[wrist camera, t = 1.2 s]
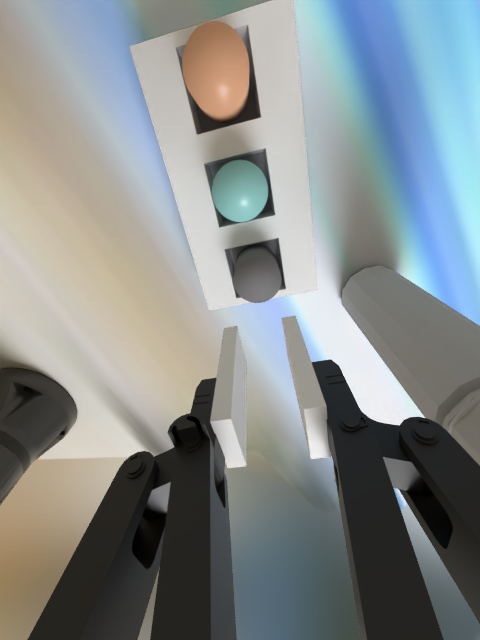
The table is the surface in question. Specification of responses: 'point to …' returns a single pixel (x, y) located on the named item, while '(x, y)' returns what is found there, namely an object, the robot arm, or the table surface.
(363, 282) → the water bottle
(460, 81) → the table surface
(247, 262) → the button charcoal
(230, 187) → the button teal
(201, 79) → the button terracotta
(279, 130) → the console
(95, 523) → the robot arm
